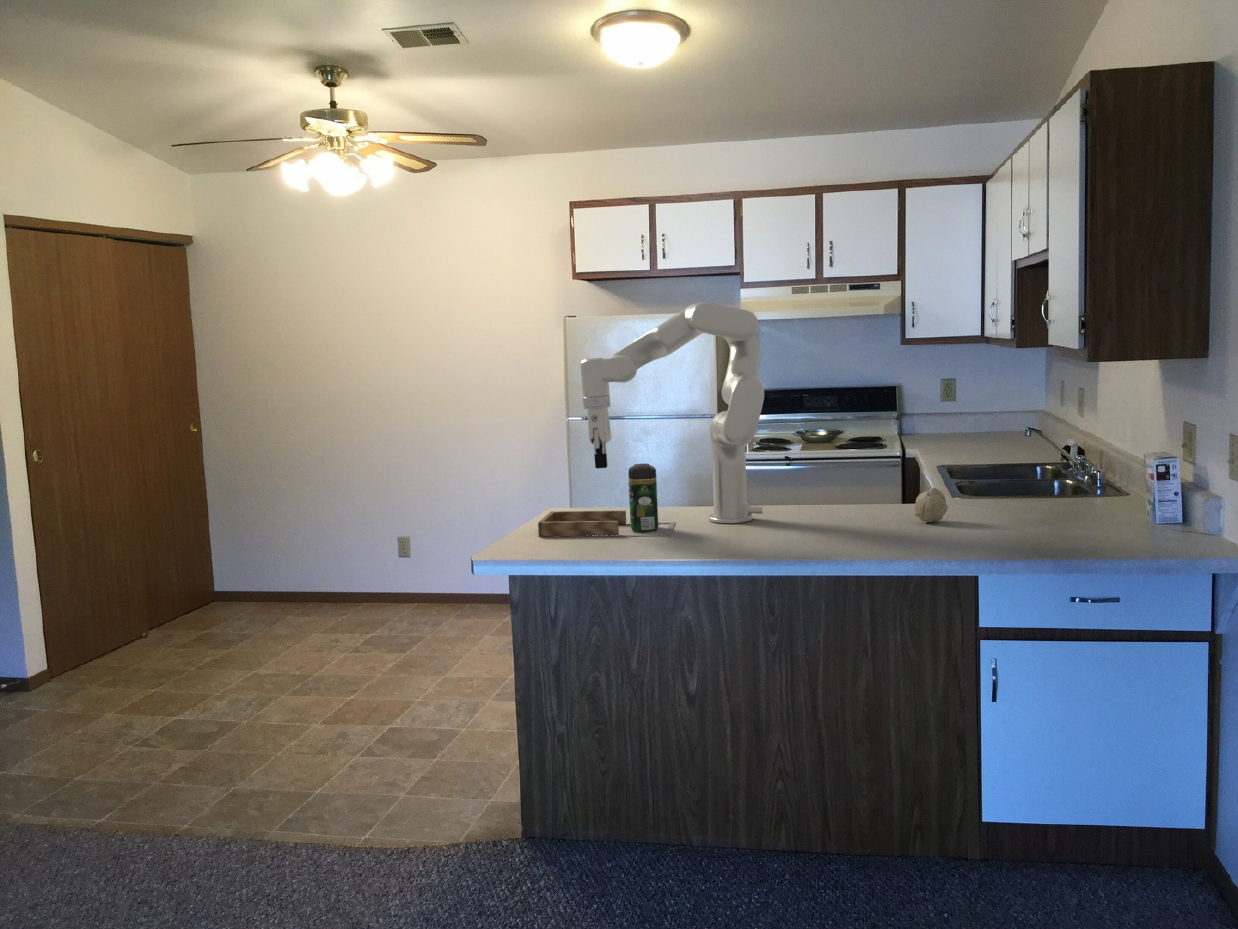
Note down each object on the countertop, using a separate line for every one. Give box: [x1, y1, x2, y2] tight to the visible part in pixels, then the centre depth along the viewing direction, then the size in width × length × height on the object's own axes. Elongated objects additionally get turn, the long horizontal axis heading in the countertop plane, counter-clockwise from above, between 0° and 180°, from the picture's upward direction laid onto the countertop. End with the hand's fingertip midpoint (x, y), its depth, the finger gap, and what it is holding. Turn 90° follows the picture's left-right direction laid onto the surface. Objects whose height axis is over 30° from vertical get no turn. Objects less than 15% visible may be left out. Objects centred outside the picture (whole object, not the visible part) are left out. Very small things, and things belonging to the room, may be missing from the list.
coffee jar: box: [628, 463, 659, 533], centre depth 272 cm, size 10×8×19 cm
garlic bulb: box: [914, 487, 949, 523], centre depth 266 cm, size 10×8×10 cm
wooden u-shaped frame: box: [537, 509, 627, 537], centre depth 275 cm, size 22×17×4 cm
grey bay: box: [617, 521, 677, 537], centre depth 273 cm, size 14×19×1 cm
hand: (601, 467), depth 272 cm, fingers closed
